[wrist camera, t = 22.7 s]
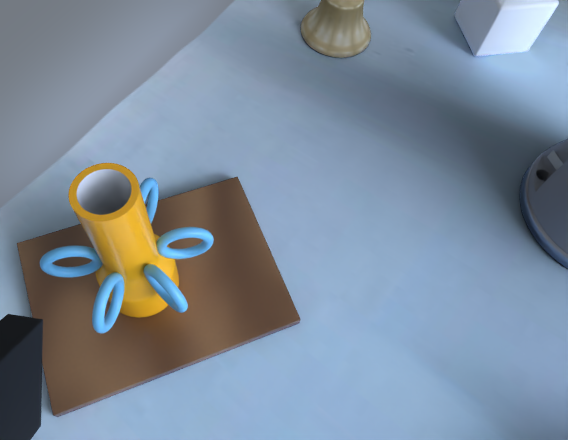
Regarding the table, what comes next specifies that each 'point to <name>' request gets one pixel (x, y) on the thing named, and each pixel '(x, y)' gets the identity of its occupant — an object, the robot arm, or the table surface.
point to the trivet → (168, 323)
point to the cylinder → (124, 246)
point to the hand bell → (337, 28)
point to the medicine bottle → (502, 24)
